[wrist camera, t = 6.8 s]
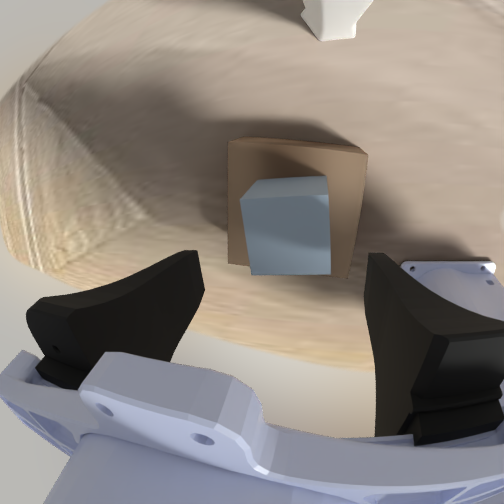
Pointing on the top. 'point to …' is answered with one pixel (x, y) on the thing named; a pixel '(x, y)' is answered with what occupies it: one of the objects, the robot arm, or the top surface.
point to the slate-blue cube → (288, 226)
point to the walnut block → (299, 165)
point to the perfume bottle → (333, 17)
